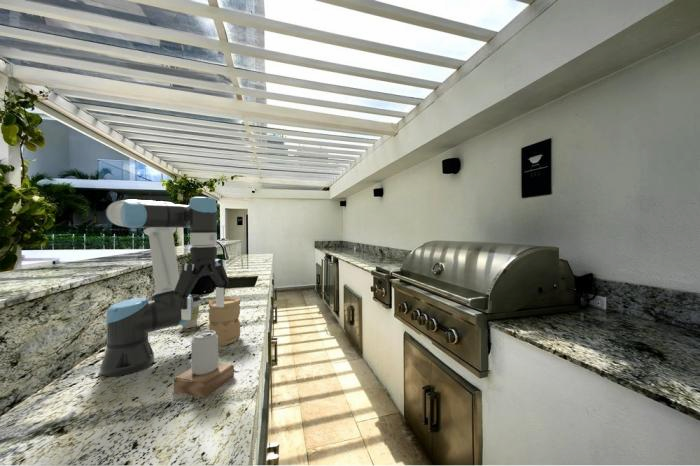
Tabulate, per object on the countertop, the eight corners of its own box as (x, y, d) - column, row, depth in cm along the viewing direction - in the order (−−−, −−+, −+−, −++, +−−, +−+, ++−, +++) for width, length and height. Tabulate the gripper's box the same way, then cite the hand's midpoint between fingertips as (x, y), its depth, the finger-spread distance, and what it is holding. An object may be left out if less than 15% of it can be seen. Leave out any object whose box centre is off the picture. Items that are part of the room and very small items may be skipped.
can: (207, 378, 83) (206, 338, 82) (185, 375, 84) (185, 336, 84) (223, 365, 90) (223, 329, 90) (203, 363, 91) (203, 328, 91)
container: (225, 348, 113) (225, 305, 113) (202, 344, 117) (201, 302, 117) (246, 337, 125) (246, 297, 125) (224, 333, 129) (224, 295, 129)
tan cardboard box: (173, 391, 83) (173, 377, 83) (204, 371, 94) (204, 359, 94) (206, 398, 80) (205, 383, 80) (234, 376, 91) (233, 364, 91)
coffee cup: (193, 329, 135) (193, 298, 135) (174, 329, 135) (173, 298, 135) (204, 322, 145) (204, 294, 144) (186, 322, 145) (185, 294, 145)
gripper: (178, 249, 74) (179, 327, 74) (239, 244, 98) (240, 303, 98) (157, 248, 76) (158, 324, 76) (222, 243, 100) (222, 301, 100)
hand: (204, 312), depth 87 cm, fingers open, 13 cm apart
